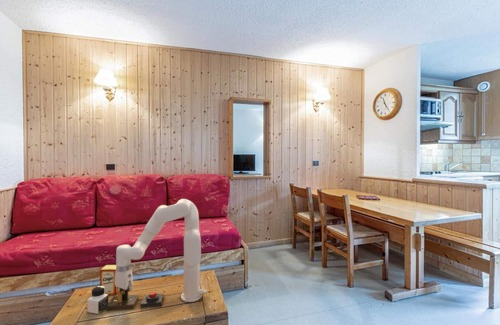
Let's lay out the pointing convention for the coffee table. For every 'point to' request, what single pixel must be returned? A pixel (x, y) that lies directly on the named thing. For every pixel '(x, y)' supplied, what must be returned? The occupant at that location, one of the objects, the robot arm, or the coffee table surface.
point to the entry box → (152, 300)
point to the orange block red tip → (120, 297)
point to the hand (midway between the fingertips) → (123, 299)
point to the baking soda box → (108, 279)
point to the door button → (152, 294)
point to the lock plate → (122, 303)
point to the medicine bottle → (98, 300)
